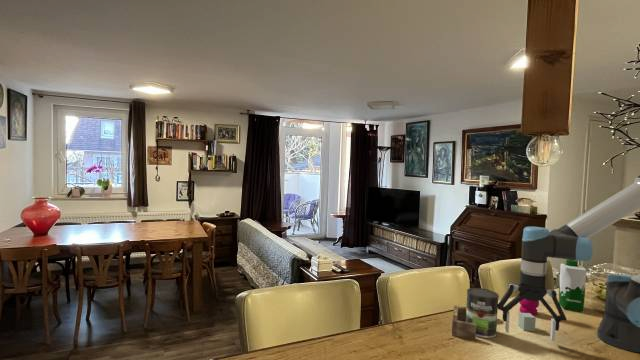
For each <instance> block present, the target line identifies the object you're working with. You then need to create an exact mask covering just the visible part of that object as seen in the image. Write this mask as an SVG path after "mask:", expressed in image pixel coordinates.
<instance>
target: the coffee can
mask: <svg viewBox="0 0 640 360" xmlns="http://www.w3.org/2000/svg"><path fill="white" fill-rule="evenodd" d="M498 304H499V293H497V292H495V291H492V290H490V289H487V288H482V287H481V288H480V287H471V288H468V289H467V290H466V307H465V308H466V322H469V323H475V324H476V337H477V338H483V339H492V338H496V336H497V327H498V326H497V325H498V312H499V311H498V310H499V309H498Z"/></svg>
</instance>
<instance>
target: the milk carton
mask: <svg viewBox="0 0 640 360" xmlns="http://www.w3.org/2000/svg"><path fill="white" fill-rule="evenodd" d="M565 261H566V262H565V263H560V267H559V268H560V270H559V283H558V284H559V285H558V287H559V288H558V302H559V304H560V306H561V308H562V310H565V311H566V310H567V311H571V312H572V311H573V312H574V311H575V312H580V313H581V312H582V313H583V312H584V308H585V296H586V281H587V280H586V279H587V269H586V268H585V267H584V266H582V265H579V264H578V263H579V261H577V260H569V259H565Z"/></svg>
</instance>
